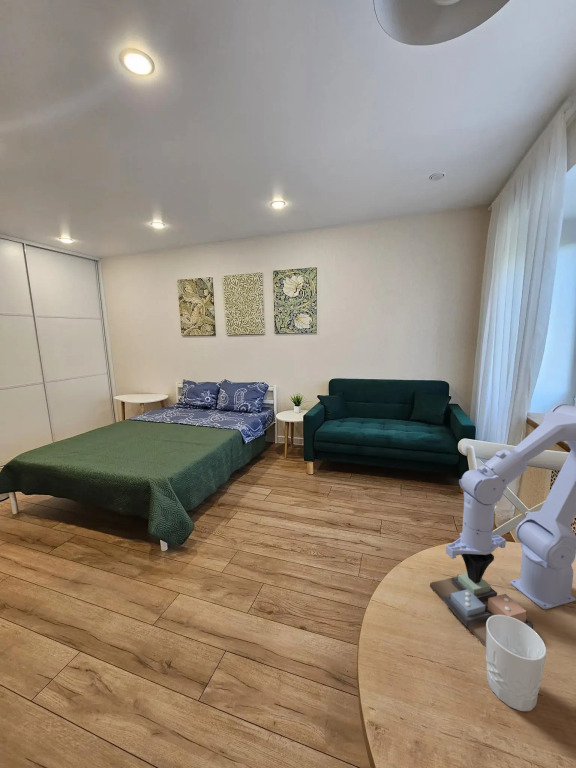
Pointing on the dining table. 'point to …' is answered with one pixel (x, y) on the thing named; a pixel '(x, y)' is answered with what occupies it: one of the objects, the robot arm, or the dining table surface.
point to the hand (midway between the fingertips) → (473, 579)
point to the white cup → (514, 661)
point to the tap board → (473, 622)
